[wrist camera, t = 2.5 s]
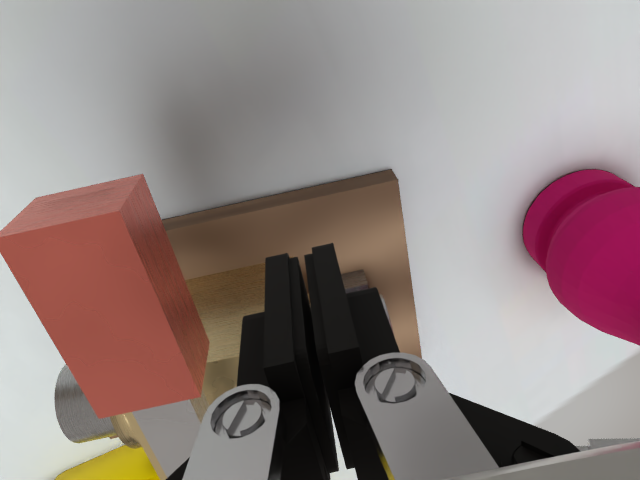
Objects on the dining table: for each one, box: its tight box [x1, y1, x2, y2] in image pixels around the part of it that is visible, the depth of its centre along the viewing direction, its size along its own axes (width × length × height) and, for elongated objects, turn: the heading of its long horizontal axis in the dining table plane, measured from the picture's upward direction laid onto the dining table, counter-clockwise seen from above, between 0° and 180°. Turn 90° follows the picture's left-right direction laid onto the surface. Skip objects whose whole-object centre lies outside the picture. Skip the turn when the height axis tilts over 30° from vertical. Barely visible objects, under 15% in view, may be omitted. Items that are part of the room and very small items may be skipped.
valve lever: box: [0, 174, 210, 478], centre depth 16 cm, size 14×3×2 cm, turn 11°
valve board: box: [11, 169, 422, 439], centre depth 29 cm, size 13×20×2 cm, turn 101°
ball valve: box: [55, 257, 394, 480], centre depth 24 cm, size 7×16×10 cm, turn 101°
